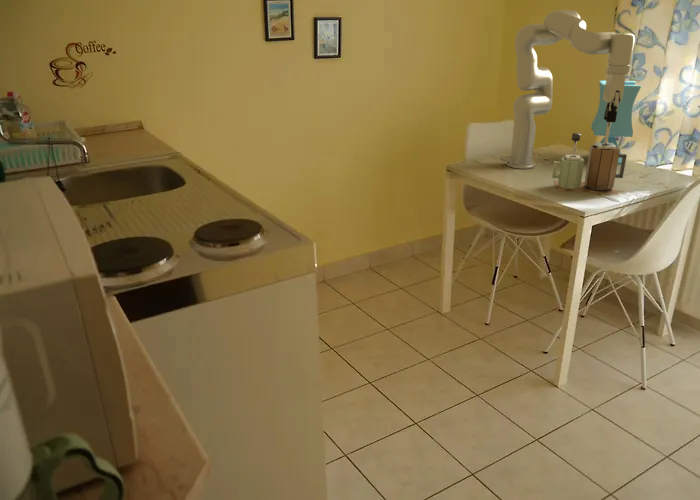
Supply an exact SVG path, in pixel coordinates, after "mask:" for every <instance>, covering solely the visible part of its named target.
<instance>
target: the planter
mask: <svg viewBox="0 0 700 500" xmlns="http://www.w3.org/2000/svg"><path fill="white" fill-rule="evenodd" d="M636 83H637V82H636V81H635V80H625V85H624V92H623V98H622V101H621V102H620V103H619V105H618V110H617V116H616V121H615V122H611V125H610V131H609V137H608V143H613V144H614V145H615V146H617V147H619V144H618V142H617V140H616V137H617V138H619V137H621V138H622V137H628V138H632V137H633V135H634V130H633V123H632V113H633V108H634V104H635V101H636V99H637V96H638V94H639V92H640V90H641V88H642V85H639V84H636ZM605 84H606V80H599V102H598V103H599V105H598V108H597V112H596V114H595V116H594V118H593V121H592V123H591V126H590V128H591V130H592V132H593V135H594V136H599V137H600V136H601V137H603V138H602V139H601V140H600V141H599V143H604V140H605V134H606V128H607V122H606V120H604V115H605V109H606V104H607V102H606V101H605V100H604V99H603V94H604V89H605ZM619 154H622V152H621V151H620V153H619ZM621 162H622V158H620V157H619V158H618V164H617V165H620V164H621Z"/></svg>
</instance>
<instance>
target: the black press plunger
mask: <svg viewBox="0 0 700 500" xmlns="http://www.w3.org/2000/svg"><path fill="white" fill-rule="evenodd" d="M608 111H609V108H607V109H606V115H605V117H607V113H608ZM610 125H611V122H607V128H606V134H605V136H604V137H605V140H604V146H607V143H608V137H609V131H610ZM603 150H606V149H603Z"/></svg>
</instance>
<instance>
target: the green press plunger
mask: <svg viewBox="0 0 700 500" xmlns="http://www.w3.org/2000/svg"><path fill="white" fill-rule="evenodd" d="M581 135H582V133H578V132H572V134H571V141H573V145H572V147H573V148H572V153H571V155H572V157H575V155H576V150H577V142H579V141H581Z"/></svg>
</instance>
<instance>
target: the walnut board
mask: <svg viewBox="0 0 700 500" xmlns="http://www.w3.org/2000/svg"><path fill="white" fill-rule="evenodd" d="M553 184H554V185H555V188H556V190H557V191H558V192H569V193H572V192H573V193H594V194H611V195H613V194H615V195H616V194H617V195H619V192H618V191H617V190H616V188H615V187H614V186H613V188H612V190H610V191H593V190H589V189H587V188H585V181H581V185H580V188H578V189H564V188H561V187H559V186H558V184H559V183H558V180H553Z"/></svg>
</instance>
